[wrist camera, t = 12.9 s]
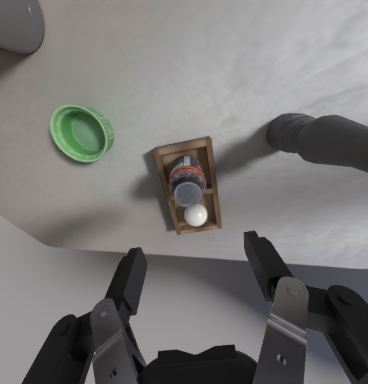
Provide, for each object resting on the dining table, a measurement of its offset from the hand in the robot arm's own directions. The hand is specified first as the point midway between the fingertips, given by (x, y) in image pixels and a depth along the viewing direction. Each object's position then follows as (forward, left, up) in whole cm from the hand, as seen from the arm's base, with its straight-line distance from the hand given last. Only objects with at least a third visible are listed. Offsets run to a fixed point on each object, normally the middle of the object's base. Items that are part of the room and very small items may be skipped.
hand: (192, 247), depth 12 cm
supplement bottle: (0, -1, -22) cm, 22 cm away
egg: (0, -11, -21) cm, 24 cm away
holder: (0, -6, -22) cm, 23 cm away
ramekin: (-16, +9, -23) cm, 29 cm away
